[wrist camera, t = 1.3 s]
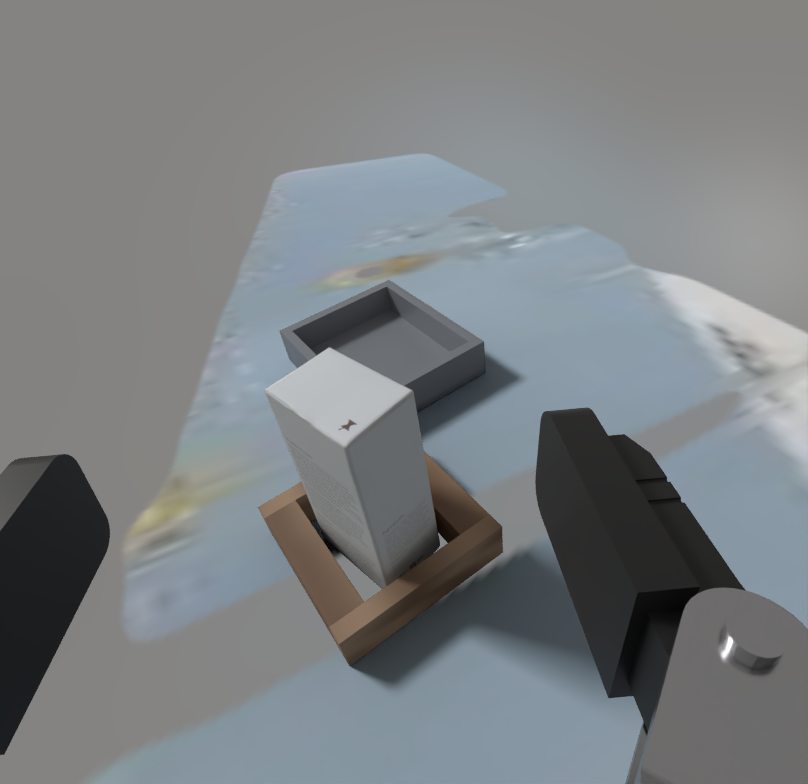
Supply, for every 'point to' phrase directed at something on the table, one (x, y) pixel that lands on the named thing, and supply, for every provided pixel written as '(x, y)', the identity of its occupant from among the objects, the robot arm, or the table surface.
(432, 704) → the table surface
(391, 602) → the socket block
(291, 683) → the table surface
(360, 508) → the skincare box
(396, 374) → the tray
